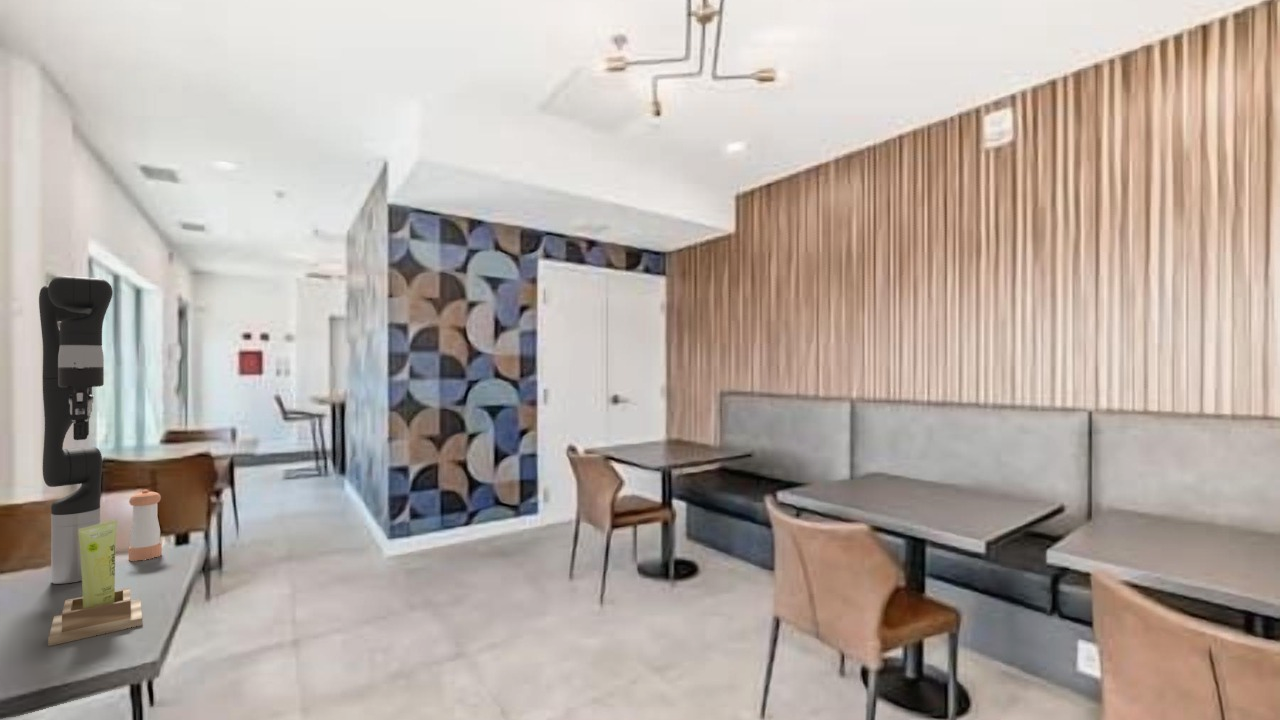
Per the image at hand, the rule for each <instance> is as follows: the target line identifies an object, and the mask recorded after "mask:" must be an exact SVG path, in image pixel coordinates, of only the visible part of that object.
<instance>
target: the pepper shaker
mask: <svg viewBox="0 0 1280 720" xmlns="http://www.w3.org/2000/svg"><path fill="white" fill-rule="evenodd" d="M161 499H162V495H161V493H159V492H155V491H149V489H143V490H142V491H141V492H138V493H135V494H133V495H131V496H130V498H129V500H128V503H129V505H130V506H132V524H131V528H130V534H129V539H130V540H129V541H130V546H128V561H129V560H130V562H138V561H137V560H143V561H146V560H145V559H149V560H151V559H150V558H153V559H155V558H154V557H157V556H159V557H161V556H162V554H163V552H162V549H163V548H162V547H163V546H162V541H161V528H160V522H159V518H158V514H159V513H158V503H160V501H161ZM160 555H161V556H160ZM157 558H158V557H157Z"/></svg>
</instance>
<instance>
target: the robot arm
mask: <svg viewBox="0 0 1280 720" xmlns="http://www.w3.org/2000/svg"><path fill="white" fill-rule="evenodd" d="M112 297H113V288H112V285H111V284H110V283H109V281H107V280H105V279H104V278H96V277H87V276H86V277H83V276H69V275H62V276H61V275H60V276H55V277H53V278H52V279H51V281H50V282H49V283H48V285H44V286H42V287H41V289H40V291H39V295H38V308H39V318H40V319H39V320H40V328H41V338H42V397H43V398H42V401H43V402H42V403H43V413H44V414H43V415H44V416H43V417H44V435H43V436H44V437H43V452H42V453H43V454H42V477H43V482H44V483H45V484H46V486H47V487H49V488H56V487H65V486H72V485H80V487H79V488H78V489H77V490H76V491H74V492H72V493H70V494H69V495H65V496H64V497H61V498H58V499H56V500H55V501H53V502H51V503H52V504H51V507H50V509H51V510H50V519H51V520H50V525H51V526H50V529H51V530H50V531H51V533H50V534H51V538H50V541H51V545H50V550H51V551H50V558H51V559H50V561H51V562H50V563H51V564H50V567H51V568H50V573H51V574H50V582H51V584H55V585H56V584H58V585H59V584H70V583H77V582H82V571H81V555H80V543H79V534H78V530H79V529H80V528H85V527H89V526H93V525H97V524H100V523H101V496H102V495H101V494H102V493H101V492H102V489H101V488H102V476H103V475H102V474H103V456H102V452H101V451H100V449H99V448H98V447H95V446H86V447H76V448H75V447H74V448H65V449H64V447H63V446H64V441H65V439H66V435H67V433H68V431H69V430H70V428H71V426H72V425H73V431H72V432H73V434H72V435H73V440H75V441H84V440H87V438H88V436H89V434H90V427H89V426H90V419H91V413H92V412H93V403H94V394H93V388H96V387H97V388H98V387H103V386H104V374H105V373H104V371H105V370H104V365H105V364H104V359H105V358H104V351H103V325H104V320H105V316H106V313H107V311H108V308H109V306H110V303H111V301H112ZM58 323H59V325H58Z"/></svg>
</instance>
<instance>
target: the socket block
mask: <svg viewBox="0 0 1280 720" xmlns="http://www.w3.org/2000/svg"><path fill="white" fill-rule="evenodd" d="M136 626H137V627H140V626H143V612H142V603H141V598H138V599H134V600H133V599H132V600H131V587H128V588H123V589H121V588H120V589H117V590H115V602H113V603H108V604H103V605H98V606H93V607H88V608H83V596H80V597H73V598H69V599H65V600H64V604H63V609H62V612H61V614H59V615H54V616H53V620H52V623H51V627H50V630H49V634H48V638H47V640H48V642H47V644H48V645H47V647H52V646H55V645H60V644H64V643H68V642H74V641H78V640H83V639H87V638H91V637H96V635H97V636H99V635H101V636H102V635H104V634H105V633H106V634H110V633H115V632H119V631H123V630H128V629H131V627H132V628H135V627H136ZM127 628H128V629H127ZM106 634H105V635H106Z"/></svg>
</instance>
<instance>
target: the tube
mask: <svg viewBox="0 0 1280 720" xmlns="http://www.w3.org/2000/svg"><path fill="white" fill-rule="evenodd" d="M117 527H118V519H117V518H116V519H113V520H109V521H105V522H100V524H97V525H93V526H89V527H85V528H80V529H79V530H78V534H79V543H80V555H81V571H82V581H81V588H82V589H81V590H82V597H83V608H88V607H93V606H98V605H103V604H108V603H113V602H115V591H116V590H115V589H116V587H115V586H116V585H115V584H116V582H115V581H116V549H117V548H116V545H117V529H118V528H117Z"/></svg>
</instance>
